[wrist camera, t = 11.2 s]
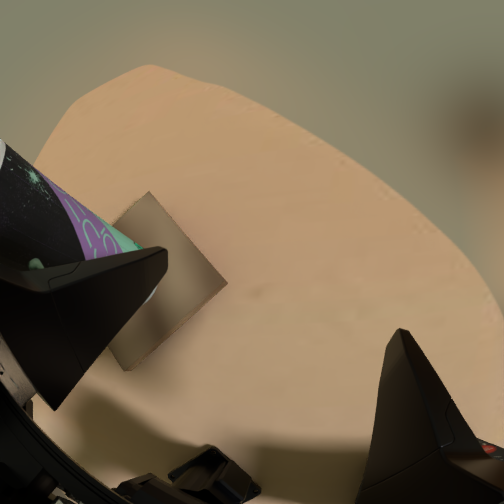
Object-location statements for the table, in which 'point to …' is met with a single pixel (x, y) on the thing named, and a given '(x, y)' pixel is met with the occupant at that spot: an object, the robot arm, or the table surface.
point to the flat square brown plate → (163, 282)
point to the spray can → (48, 221)
